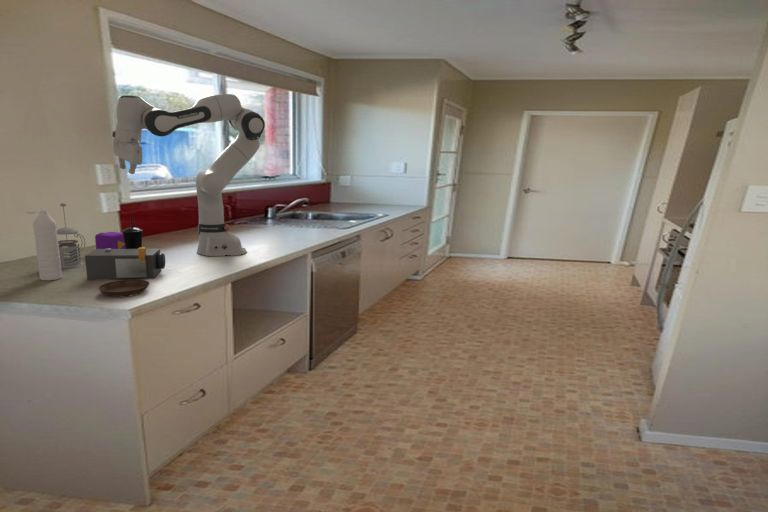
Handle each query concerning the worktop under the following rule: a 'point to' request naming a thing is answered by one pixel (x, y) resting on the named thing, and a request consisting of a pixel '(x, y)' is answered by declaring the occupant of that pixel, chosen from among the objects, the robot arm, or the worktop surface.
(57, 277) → the water bottle
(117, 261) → the side door
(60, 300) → the worktop surface
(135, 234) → the drinking cup
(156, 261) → the camera housing
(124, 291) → the saucer
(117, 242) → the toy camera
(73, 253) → the french press
